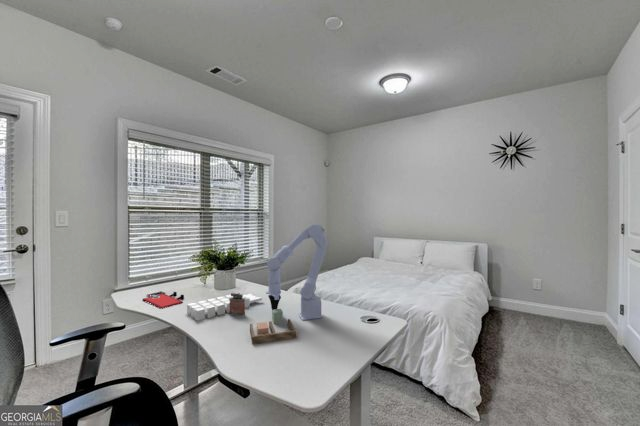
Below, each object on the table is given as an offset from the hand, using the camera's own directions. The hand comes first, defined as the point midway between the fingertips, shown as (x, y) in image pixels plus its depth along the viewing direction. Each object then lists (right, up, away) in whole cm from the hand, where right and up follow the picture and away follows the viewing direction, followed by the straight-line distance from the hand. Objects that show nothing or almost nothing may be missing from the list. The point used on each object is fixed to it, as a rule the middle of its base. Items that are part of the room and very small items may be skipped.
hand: (274, 310), depth 134 cm
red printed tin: (-18, -3, +2) cm, 19 cm away
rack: (+2, -2, -20) cm, 20 cm away
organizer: (-26, -3, +10) cm, 28 cm away
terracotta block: (-1, -3, -23) cm, 23 cm away
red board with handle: (-67, -3, +24) cm, 71 cm away
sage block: (+3, -2, -8) cm, 8 cm away
